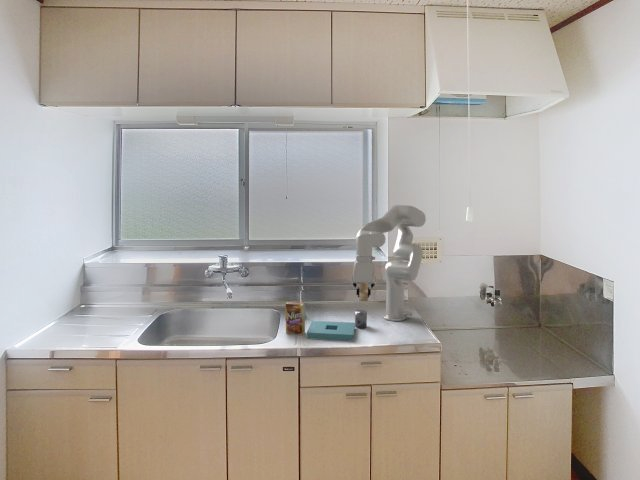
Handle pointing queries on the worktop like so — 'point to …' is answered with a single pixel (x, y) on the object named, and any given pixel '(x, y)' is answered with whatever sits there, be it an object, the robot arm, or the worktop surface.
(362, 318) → the round bit
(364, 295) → the square bit
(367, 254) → the robot arm
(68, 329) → the worktop surface
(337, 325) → the socket block
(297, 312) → the candy box
